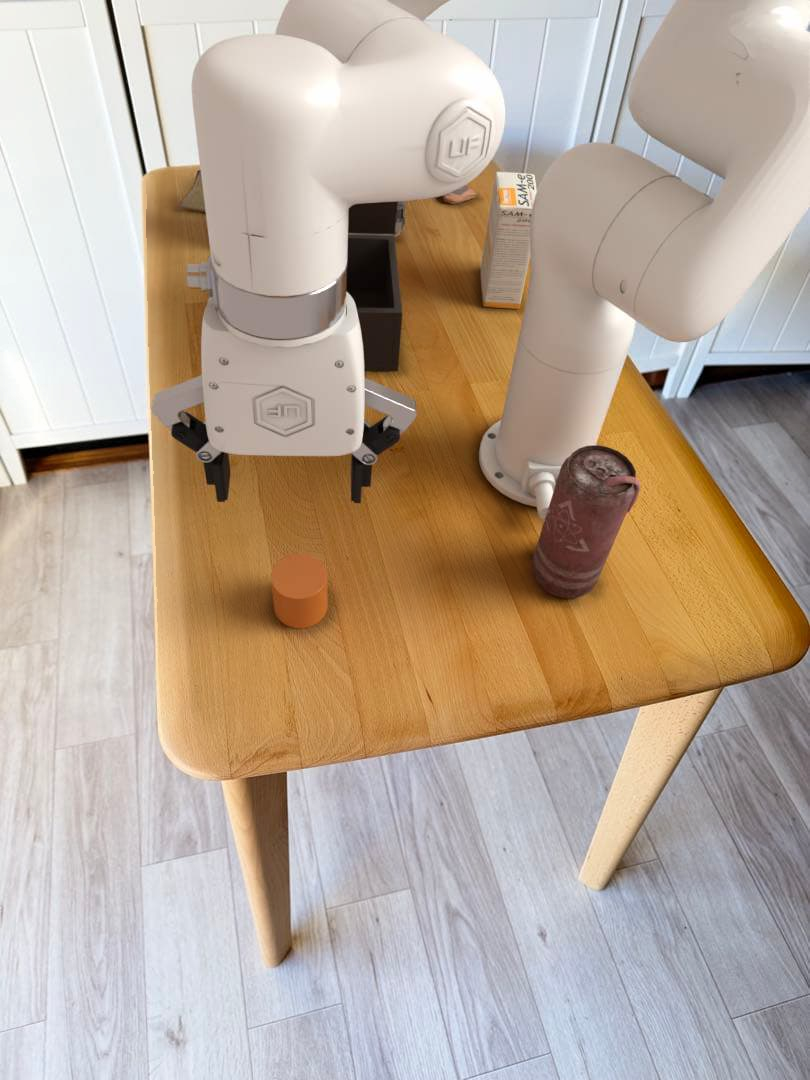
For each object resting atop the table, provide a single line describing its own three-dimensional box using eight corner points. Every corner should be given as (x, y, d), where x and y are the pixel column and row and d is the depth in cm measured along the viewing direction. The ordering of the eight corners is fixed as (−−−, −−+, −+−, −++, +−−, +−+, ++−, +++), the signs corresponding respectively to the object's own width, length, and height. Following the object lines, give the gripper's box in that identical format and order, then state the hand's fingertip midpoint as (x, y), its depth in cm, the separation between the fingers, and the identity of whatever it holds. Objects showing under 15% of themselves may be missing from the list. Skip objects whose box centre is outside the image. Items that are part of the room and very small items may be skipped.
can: (597, 607, 72) (643, 505, 61) (527, 593, 73) (560, 489, 62) (601, 555, 76) (645, 449, 65) (534, 541, 77) (566, 435, 66)
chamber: (398, 371, 91) (402, 312, 85) (284, 370, 90) (280, 311, 83) (391, 293, 100) (394, 235, 94) (287, 291, 99) (284, 232, 92)
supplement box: (521, 310, 99) (542, 210, 89) (481, 308, 99) (498, 206, 89) (516, 271, 104) (536, 172, 94) (479, 269, 104) (494, 169, 94)
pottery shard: (479, 192, 114) (447, 195, 112) (477, 202, 115) (446, 205, 113) (458, 171, 118) (427, 173, 116) (457, 180, 119) (426, 183, 117)
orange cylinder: (327, 628, 69) (327, 598, 66) (273, 629, 69) (269, 599, 65) (327, 584, 72) (326, 553, 69) (275, 584, 72) (271, 553, 68)
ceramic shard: (257, 176, 107) (253, 173, 106) (252, 219, 108) (249, 217, 107) (187, 166, 108) (182, 163, 106) (183, 209, 109) (178, 207, 108)
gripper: (115, 322, 44) (163, 526, 57) (435, 332, 45) (409, 528, 58) (136, 245, 48) (176, 450, 62) (425, 256, 50) (404, 454, 63)
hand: (290, 488), depth 60 cm, fingers open, 9 cm apart
